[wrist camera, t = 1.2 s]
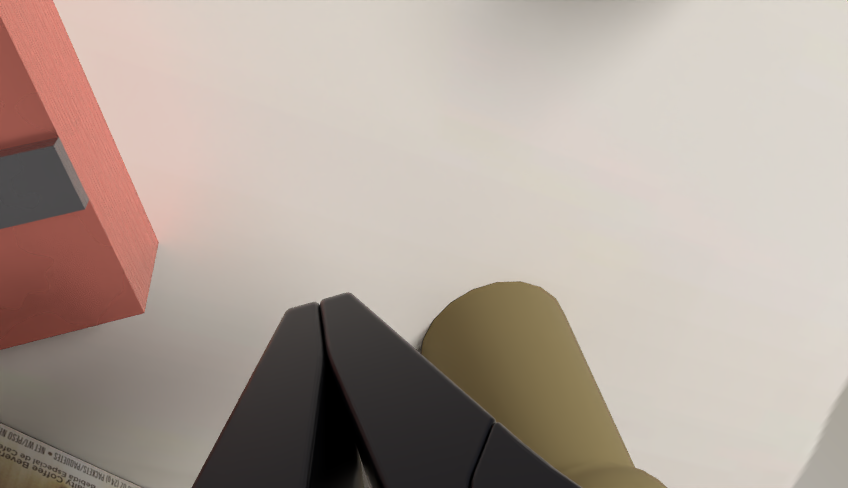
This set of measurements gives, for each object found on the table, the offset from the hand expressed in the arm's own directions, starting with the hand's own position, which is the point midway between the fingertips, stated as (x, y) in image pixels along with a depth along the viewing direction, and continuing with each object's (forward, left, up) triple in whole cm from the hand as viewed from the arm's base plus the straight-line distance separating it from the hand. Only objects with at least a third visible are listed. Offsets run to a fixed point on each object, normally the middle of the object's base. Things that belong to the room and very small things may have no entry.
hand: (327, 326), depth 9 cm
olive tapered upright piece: (-12, -5, -12) cm, 18 cm away
